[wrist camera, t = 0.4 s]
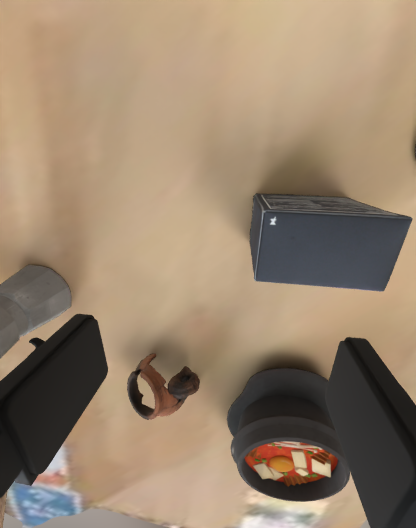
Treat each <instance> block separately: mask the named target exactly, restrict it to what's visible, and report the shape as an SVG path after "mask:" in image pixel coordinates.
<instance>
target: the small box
mask: <svg viewBox="0 0 416 528" xmlns="http://www.w3.org/2000/svg"><path fill="white" fill-rule="evenodd" d="M253 197H254V198H253V210H252V213H253V215H252V222H251V229H250V247H251V255H252V262H253V263H252V264H253V271H254V279H255V281H261V282H273V283H286V284H299V285H311V286H324V287H336V288H348V289H359V290H371V291H384V290H385V288H386V286H387V284H388V281H389V279H390V276H391V274H392V271H393V268H394V266H395V263H396V261H397V258H398V255H399V253H400V250H401V248H402V245H403V243H404V240H405V237H406V235H407V232H408V229H409V227H410V224H411V222H412V218H411V217H408V216H404V215H400V214H396V213H391V212H388V211H384V210H381V209H379V208H376V207H373V206H370V205H367V204H364V203H361V202H358V201H355V200H353V199H351V198H344V197H324V196H303V195H288V194H287V195H283V194H258V193H256V194H255V195H254V196H253Z"/></svg>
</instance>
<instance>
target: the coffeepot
mask: <svg viewBox="0 0 416 528" xmlns="http://www.w3.org/2000/svg"><path fill="white" fill-rule="evenodd" d="M70 307H71V292H70V289H69V286H68V285H67V283H66V282H65V281H64V279H63V278H62V277H61V276H60V275H59V274H57V273H56V272H54V271H53V270H52V269H50V268H47V267H43V266H37V265H36V266H33V265H27V266H26V267H24V268H23V269H22V270H20V271H19V272H17V273H16V274H14V275H13V276H12V277H10V278H9V279H7V280H6V281H4V282H3V283H2V284H0V358H1V357H2V356H3V355H4V354H5V353H6V352H7V351H8V350H9V349H10V348H11V347H12V346H13V345H14V344H15V343H16V342H17V341H18V340H19V338H20V337H21V336H24V335H26V334H28V333H29V332H31V331H33V330H35V329H37V328H38V327H40V326H42V325H44V324H45V323H47V322H49V321H51V320H53V319H54V318H56V317H58V316H59V315H61V314H62V313H63V312H64V311H66V310H67V309H68V308H70ZM44 342H45V341H43V340H41V339H39V338H33V339H31V340H30V341H29V343H32V344H33V345H34V346H35V347H36V349H37V348H38V347H40V346H41V345H42V344H43V343H44ZM36 349H35V350H36ZM35 350H34V351H35ZM34 351H33V352H34ZM33 352H32V353H33ZM32 353H31V354H32ZM31 354H30V355H31Z"/></svg>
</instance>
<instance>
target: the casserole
mask: <svg viewBox="0 0 416 528" xmlns="http://www.w3.org/2000/svg"><path fill="white" fill-rule="evenodd" d="M328 382H329V381H328V380H327V379H326V378H324V377H322V376H320V375H318V374H315V373H312V372H309V371H305V370H299V369H293V368H277V369H270V370H265V371H262V372H258V373H256V374H255V375H253V376H252V377H251V378H250V379H249V381H248V383H247V385H246V387H245V389H244V391H243V392H242V394H241V395H240V396H239V397H238V398H237V399H236V400H235V402H234V403H233V404H232V405H231V407H230V409H229V411H228V416H227V422H228V427H229V429H230V432H231V434H232V435H233V436H234V438H233V440H232V444H231V453H232V457H233V459H234V461H235V462H236V464H237V468H238V471H239V473H240V475H241V477H242V478H243V480H244V481H245V482H246V483H247V484H248V485H249V486H251V487H252V488H254V489H255V490H257V491H258V492H261V493H263V494H265V495H267V496H270V497H273V498H277V499H282V500H287V501H301V502H306V501H316V500H320V499H324V498H327V497H330V496H332V495H334V494H336V493H338V492H339V491H341V490H342V489H343V488H344V487H345V486H346V484H347V482H348V481H349V476H350V469H349V466H348V464H347V461H346V458H345V455H344V452H343V450H342V447H341V444H340V441H339V438H338V436H337V433H336V430H335V427H334V424H333V422H332V419H331V416H330V413H329V410H328V408H327V405H326V401H325V393H326V389H327V386H328Z"/></svg>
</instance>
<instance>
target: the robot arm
mask: <svg viewBox="0 0 416 528" xmlns="http://www.w3.org/2000/svg"><path fill="white" fill-rule="evenodd" d="M107 373H108V366H107V362H106V357H105V353H104V348H103V344H102V339H101V335H100V330H99V326H98V322H97V320H96V319H94V317H93V316H92V315H85V314H76V315H75V316H73V317H72V318H71V319H70V320H69V321H68V322H67V323H66V324H64V325H63V326H62V327H61V328H60V329H59V330H58V331H57V332H55V333H54V334H53V335H52V336H51V337H50V338H49V339H48V340H46V341H45V342H44V343H43V344H42V345H41V346H40V347H38V348H37V349H36V350H35V351H34V352H33V353H32V354H31V355H29V356H28V357H27V358H26V359H25V360H24V361H23V362H22V363H20V364H19V365H18V366H17V367H16V368H15V369H14V370H12V371H11V372H10V373H9V374H8V375H7V376H6V377H5V378H3V379H2V380H1V381H0V528H2V527H3V520H4V512H5V504H6V497H7V490H8V489H9V488H10V486H11V485H12V483H13V482H14V481H15V482H16V483H20V484H25V485H30V486H31V485H32V484H33V482H34V481H35V479H36V478H37V476H38V475H39V474H41V473H43V472H44V471H45V470H46V469H47V467H48V466H49V464H50V463H51V461H52V460H53V458H54V456H55V455H56V453H57V452H58V450H59V449H60V447H61V446H62V444H63V443H64V441H65V439H66V438H67V436H68V435H69V433H70V432H71V430H72V429H73V427H74V426H75V424H76V423H77V421H78V419H79V418H80V416H81V415H82V413H83V412H84V410H85V409H86V407H87V406H88V404H89V402H90V401H91V399H92V398H93V396H94V395H95V393H96V392H97V390H98V389H99V387H100V385H101V384H102V382H103V381H104V379H105V378H106V376H107ZM325 401H326V405H327V408H328V410H329V413H330V416H331V419H332V422H333V424H334V427H335V430H336V433H337V436H338V438H339V441H340V444H341V447H342V450H343V452H344V455H345V458H346V461H347V464H348V466H349V469H350V472H351V475H352V478H353V480H354V483H355V486H356V489H357V492H358V494H359V497H360V500H361V503H362V506H363V508H364V511H365V514H366V517H367V520H368V522H369V525H370V527H371V528H416V405H415V404H414V402H413V401H412V399H411V398H410V397H409V395H408V394H407V393H406V391H405V390H404V389H403V388H402V386H401V385H400V384H399V383H398V382H397V380H396V379H395V377H394V376H393V375H392V373H391V372H390V371H389V369H388V368H387V366H386V365H385V364H384V362H383V361H382V360H381V358H380V357H379V355H378V354H377V353H376V351H375V350H374V349H373V347H372V346H371V344H370V343H369V342H368V341H367V340H366V339H362V338H351V337H347V338H346V339H345V341H341V342H340V343H339V346H338V350H337V354H336V357H335V361H334V364H333V368H332V371H331V375H330V378H329V382H328V386H327V389H326V393H325Z"/></svg>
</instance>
